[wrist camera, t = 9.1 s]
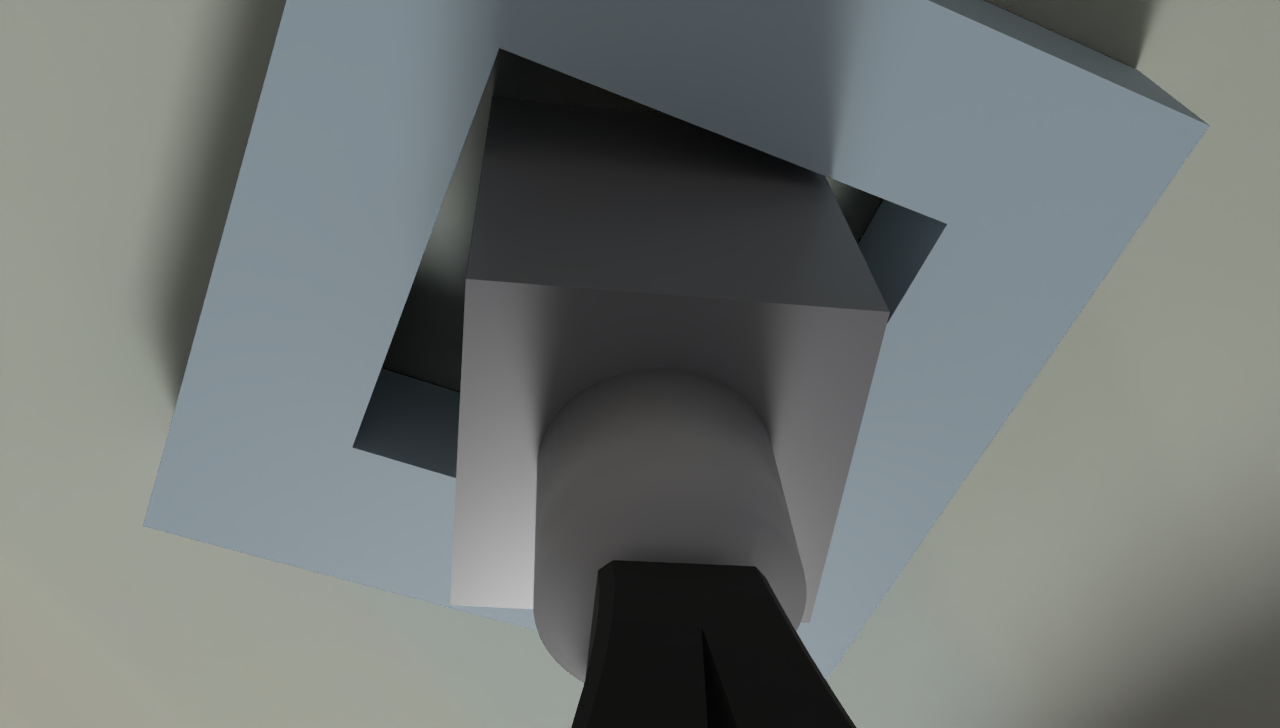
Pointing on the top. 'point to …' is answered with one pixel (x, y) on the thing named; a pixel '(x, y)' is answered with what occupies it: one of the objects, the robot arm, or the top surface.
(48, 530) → the top surface
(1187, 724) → the top surface
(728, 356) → the plug
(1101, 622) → the top surface
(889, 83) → the socket plate
